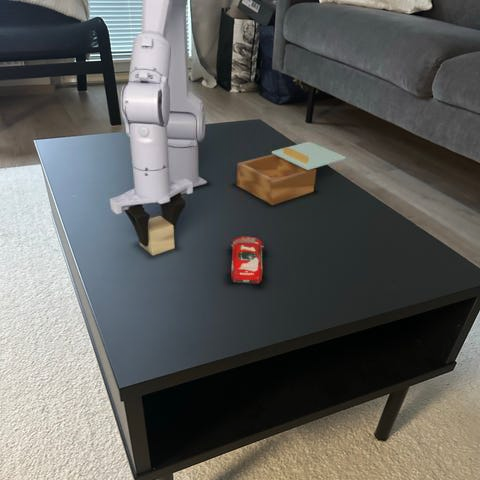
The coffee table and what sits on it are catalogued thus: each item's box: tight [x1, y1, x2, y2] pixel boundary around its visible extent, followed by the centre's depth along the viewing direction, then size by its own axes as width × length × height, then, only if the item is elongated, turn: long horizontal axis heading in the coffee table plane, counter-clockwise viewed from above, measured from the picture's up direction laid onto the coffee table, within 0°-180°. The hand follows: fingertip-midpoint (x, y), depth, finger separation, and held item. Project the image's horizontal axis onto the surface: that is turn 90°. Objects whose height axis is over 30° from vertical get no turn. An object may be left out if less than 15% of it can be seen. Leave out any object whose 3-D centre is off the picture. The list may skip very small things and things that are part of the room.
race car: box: [230, 235, 265, 285], centre depth 84 cm, size 13×5×4 cm, turn 177°
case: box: [236, 153, 317, 206], centre depth 108 cm, size 12×12×5 cm
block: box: [139, 215, 176, 256], centre depth 87 cm, size 4×4×4 cm
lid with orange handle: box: [271, 141, 347, 170], centre depth 111 cm, size 12×12×2 cm
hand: (156, 239), depth 88 cm, fingers closed on block, 4 cm apart
